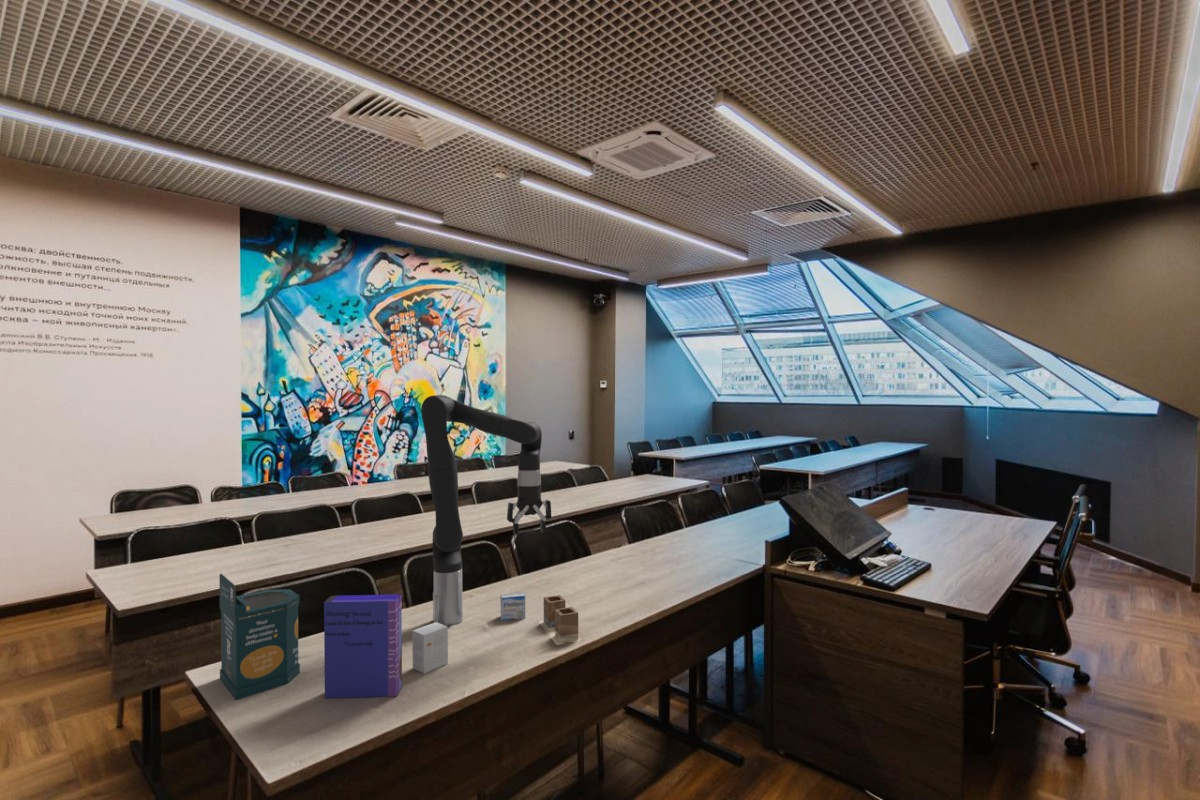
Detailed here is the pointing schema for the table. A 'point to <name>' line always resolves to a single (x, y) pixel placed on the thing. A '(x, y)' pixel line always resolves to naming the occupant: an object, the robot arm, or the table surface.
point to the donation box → (257, 639)
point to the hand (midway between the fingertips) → (529, 533)
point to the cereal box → (363, 646)
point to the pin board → (552, 634)
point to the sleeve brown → (566, 624)
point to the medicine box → (512, 606)
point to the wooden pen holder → (552, 609)
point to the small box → (430, 647)
